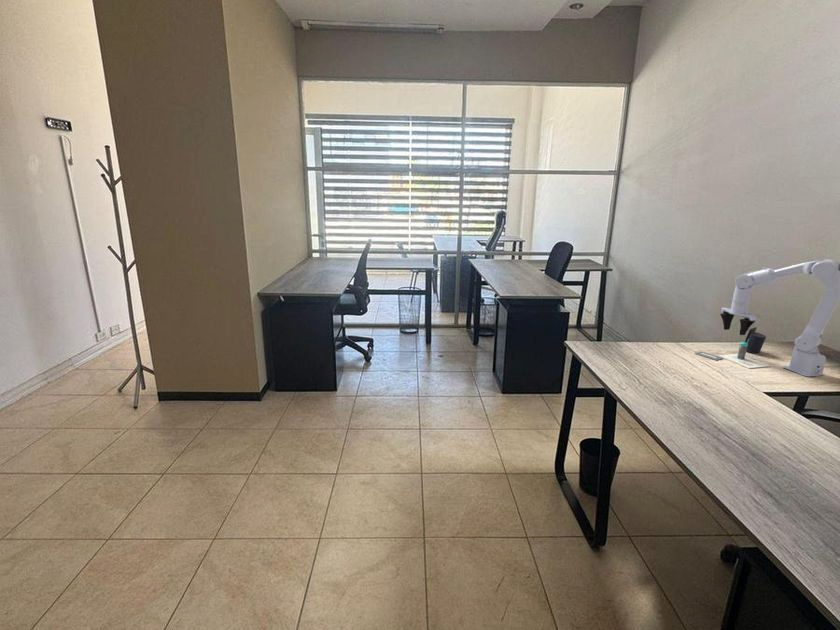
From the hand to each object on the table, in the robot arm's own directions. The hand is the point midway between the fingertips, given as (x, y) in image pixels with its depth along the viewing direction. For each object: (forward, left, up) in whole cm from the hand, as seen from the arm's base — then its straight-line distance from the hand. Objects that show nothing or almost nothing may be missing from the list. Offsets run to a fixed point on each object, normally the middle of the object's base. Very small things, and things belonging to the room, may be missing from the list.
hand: (734, 332), depth 182 cm
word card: (-1, +12, -10) cm, 16 cm away
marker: (-7, +2, -9) cm, 12 cm away
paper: (-9, +3, -10) cm, 14 cm away
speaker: (0, -12, -10) cm, 16 cm away
